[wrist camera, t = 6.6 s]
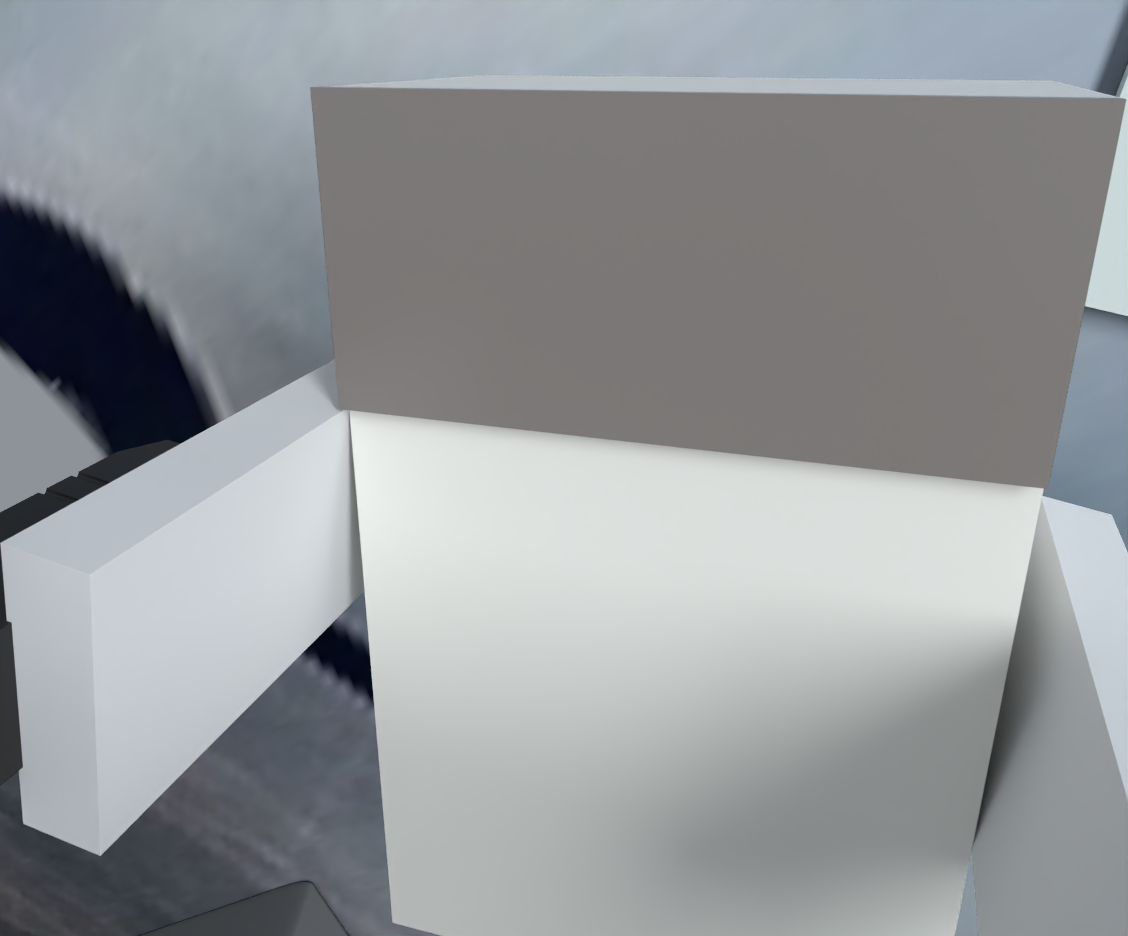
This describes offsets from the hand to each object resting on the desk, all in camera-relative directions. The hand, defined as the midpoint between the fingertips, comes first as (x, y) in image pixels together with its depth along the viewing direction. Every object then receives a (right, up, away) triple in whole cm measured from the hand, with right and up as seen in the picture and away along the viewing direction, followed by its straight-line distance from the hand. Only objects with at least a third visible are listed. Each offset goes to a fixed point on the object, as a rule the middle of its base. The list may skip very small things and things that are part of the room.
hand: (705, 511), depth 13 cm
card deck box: (0, 0, +1) cm, 1 cm away
